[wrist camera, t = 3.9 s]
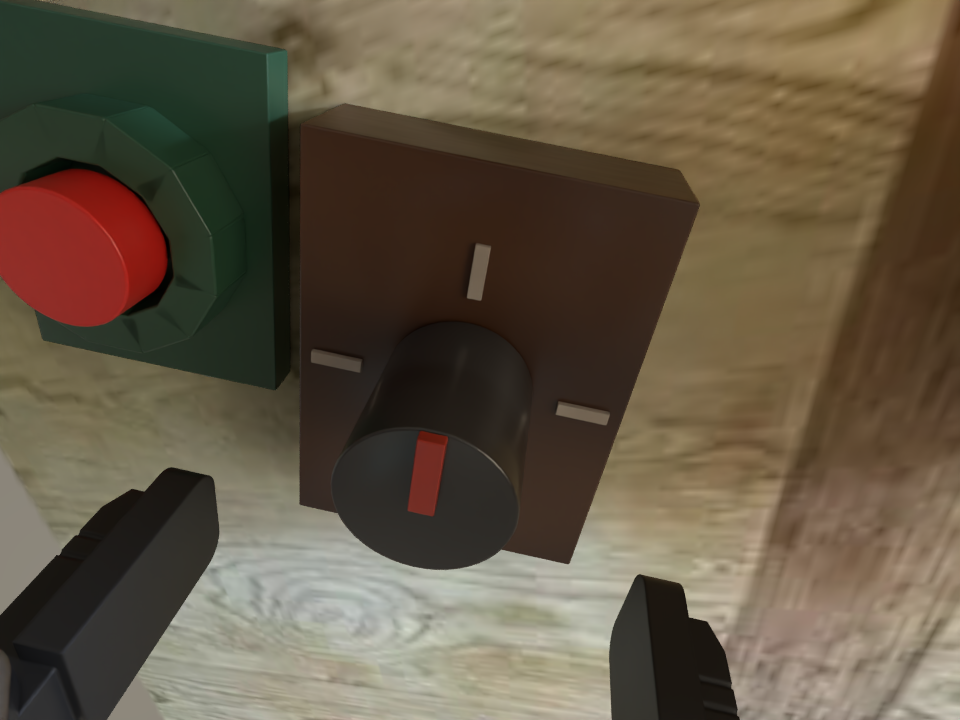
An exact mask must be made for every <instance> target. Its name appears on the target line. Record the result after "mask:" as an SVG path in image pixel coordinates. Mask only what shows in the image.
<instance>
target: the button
mask: <svg viewBox="0 0 960 720" xmlns="http://www.w3.org/2000/svg"><path fill="white" fill-rule="evenodd" d="M167 264H168V251H167V246H166V241H165V238H164V235H163V233H162V230H161V228H160V226H159V224H158V222H157V220H156V219H155V217H154V215H153V214H152V213H151V211H150V210H149V208H148V207H147V206H146V205H145V204H144V203H143V201H142V200H141V199H140V198H139V197H138V196H137V195H136V194H135V193H133V192H132V191H131V190H130V189H128V188H127V187H126V186H124V185H123V184H121V183H120V182H118V181H116V180H115V179H113V178H111V177H109V176H106V175H104V174H101V173H98V172H95V171H91V170H85V169H67V170H62V171H59V172H56V173H53V174H50V175H47V176H44V177H41V178H39V179H36V180H33V181H30V182H27V183H24V184H21V185H18V186H15V187H12V188H9V189H6V190H4V191H3V192H1V193H0V276H1V277H2V279H3V280H4V281H5V283H6V284H7V285H8V286H9V287H10V288H11V290H12V291H13V292H14V293H15V294H16V295H17V296H18V297H20V298H21V299H22V300H23V301H24V302H26V303H27V304H28V305H29V306H31V307H32V308H34V309H35V310H37V311H38V312H40V313H42V314H43V315H45V316H47V317H49V318H51V319H53V320H56V321H59V322H61V323H65V324H68V325H73V326H80V327H90V326H99V325H102V324H106V323H108V322H110V321H112V320H113V319H115V318H116V317H118V316H119V315H121V314H122V313H124V312H125V311H126V310H128V309H129V308H131V307H132V306H134V305H135V304H136V303H138V302H139V301H141V300H142V299H144V298H145V297H146V296H148V295H149V294H151V293H152V292H154V291H155V290H156V289H157V288H158V287H159V285H160V284H161V282H162V281H163V279H164V276H165V274H166V270H167Z"/></svg>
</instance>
